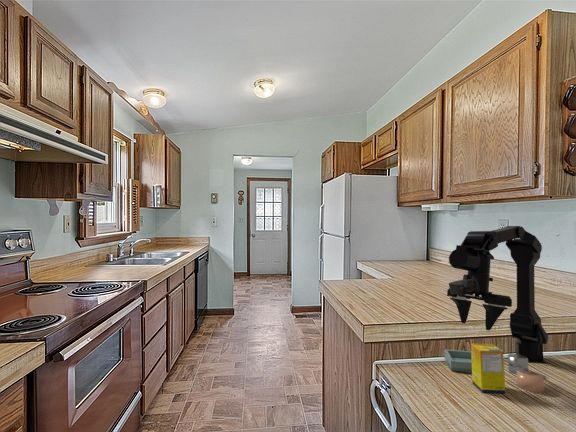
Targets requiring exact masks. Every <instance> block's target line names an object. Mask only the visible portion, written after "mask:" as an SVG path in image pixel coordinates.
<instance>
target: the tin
mask: <svg viewBox="0 0 576 432" xmlns="http://www.w3.org/2000/svg"><path fill="white" fill-rule="evenodd" d="M507 365H508V366H507V367H508V369H507V370H508V372H509V373H511V374H513V375H516V376H517V373H516V372H517V371H530V370H529V361H528V358H527V357H525V356H522V355H518V354H516V353H508V354H507Z"/></svg>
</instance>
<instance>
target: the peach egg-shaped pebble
mask: <svg viewBox="0 0 576 432" xmlns="http://www.w3.org/2000/svg"><path fill="white" fill-rule="evenodd" d="M516 373H517V375H516V386H517V387H518V389H520V388H521V390H522V389H523V390H522V391H524V390H526V391H525V392H527V391H529V392H528V393H532V392H535V393H534V394H542V393H541V392H543V393H545V378H544V376H543V375H542V374H540V373H537V372H536V371H535V372H534V371H530V370H529V371H517V372H516Z"/></svg>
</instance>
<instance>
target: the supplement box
mask: <svg viewBox="0 0 576 432" xmlns="http://www.w3.org/2000/svg"><path fill="white" fill-rule="evenodd" d="M470 351H471V360H472V373H471V379H472V384H473V385H474V386H475V387H476V388H477V389H478V391H480V392H481V393H493V394H494V393H496V394H505V393H506V383H505V381H506V380H505V379H506V378H505V362H504V360H505V359H504V350H502V349H501V348H499V347H498V346H497V345H495V344H493V343H470Z"/></svg>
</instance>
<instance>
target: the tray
mask: <svg viewBox="0 0 576 432" xmlns="http://www.w3.org/2000/svg"><path fill="white" fill-rule="evenodd" d="M445 359H446V360H445ZM444 360H445V362H446V364H447V366H448V368H449V370H450V371H451V372H456V371H462V372H461V373H466V372H472V360H471V350H470V351H467V350H457V349H446V348H445V349H444Z"/></svg>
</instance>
